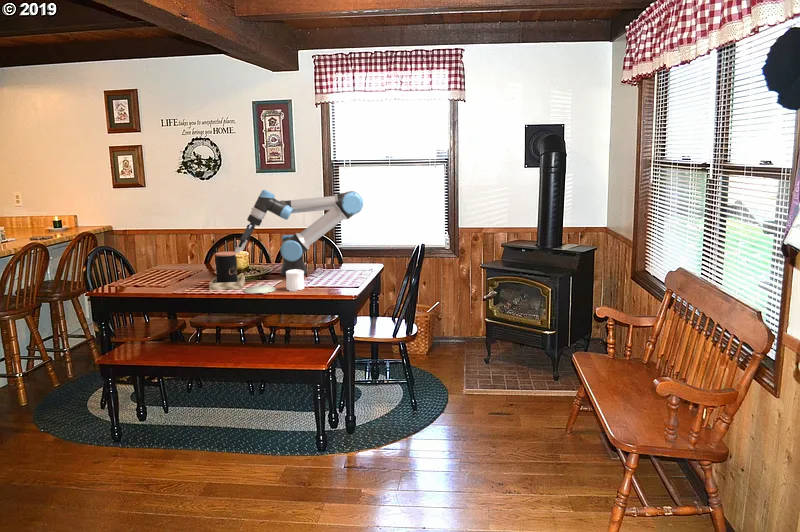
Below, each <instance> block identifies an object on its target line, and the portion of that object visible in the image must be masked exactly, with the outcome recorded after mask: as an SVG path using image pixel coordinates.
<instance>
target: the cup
mask: <svg viewBox="0 0 800 532" xmlns="http://www.w3.org/2000/svg"><path fill="white" fill-rule="evenodd" d="M285 277H286V279H285V283H286V285H285V287H286V291H287V290H289V291H288V292H298V291H297V290H302V289H304V290H305V275H304V271H303V270H299V269H294V270H288V271H286V276H285ZM302 291H303V290H302Z"/></svg>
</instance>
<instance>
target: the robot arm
mask: <svg viewBox="0 0 800 532" xmlns="http://www.w3.org/2000/svg"><path fill="white" fill-rule="evenodd" d="M275 196H276V195H275V194H274V193H272V192H271V191H269V190H266V189H263V190H261V192H260V194H259V195H258V198H257V200H256V201H255V203H254V205H253V207H251V208H250V209H251V211H250V214H249V215H248V216H247V219H246V220H247V221H248V222H249V223H248V224H247V225H246V228H245V229H244V232H243V233H242V235H241V237H240V238H238V240H239V242H238V244H237V246H236V248H235V250H234V252H236V254H240V253H241V252H244V249H245V247H246V245H247V244H248V242H250V240H251V239H250V238H251V236H252V234H253V232H254V231H255V228H256V226H257V227H260V226H261V224H262V222H263V221H262V220H264V218H265V217H266V214H267V212H270V213H272V214H274V215H276V216H277V217H279V218H281V219H284V220H288V219H289V218H290V216H291V214H297V213H310V212H319V211H327V212H326V213H324V214H323V215H322V216H320V217H319V218H318V219H317V220H315V221H314V222H313V223H312V224H310V225H309V226H307V227H306V228H305V229H304V230H302V231H301V232H300V233H299V232H295V233H294V234H284V235H282V237H281V242H282V244H281V246H280V255H281V256H282V265H281V267H280V276H283V277H286V271H288V270H294V269H299V270H303V271H304V276H305V275H307V274H308V269H307V267H306V264H305V261H304V254H306V253H307V252H308V251H309V250H310V246H311V245H312V244H314V243H315V242H317V240H319V239H321V237H323V236H325V235H326V233H328V232H329V231H331V230H332V229H333V228H334V227H336V226H337V225H338V224H340V223H341V222H342V221H343V220H349V219H351V218H352V217H353V216H354V215H356V214H359V213H360V212H361V211H362V209H363V207H364V199H363V197H362V196H361V195H360V194H359V193H358V192H356V191H354V190H353V191H352V190H349V191H346V192H341V193H335V195H330V196H320V197H309V198H301V199H299V198H298V199H291V200H289V199H288V200H278V199H276V198H275Z"/></svg>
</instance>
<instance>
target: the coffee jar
mask: <svg viewBox="0 0 800 532" xmlns="http://www.w3.org/2000/svg"><path fill="white" fill-rule="evenodd" d="M236 255H237V252H235V251H219V252H216V253H215V270H216V277H217V283H227V282H238V279H237V277H238V264H237V256H236Z"/></svg>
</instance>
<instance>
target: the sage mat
mask: <svg viewBox="0 0 800 532" xmlns="http://www.w3.org/2000/svg"><path fill="white" fill-rule="evenodd" d="M276 290H277V288H276V287H275V286H268V285H257V286H252V287H251V286H250V287H247V288H244V289H243V292H244V293H245V292H246V293H245V294H249V293H264V294H269V293H268V292H270V293H273V291H274V292H276Z"/></svg>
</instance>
